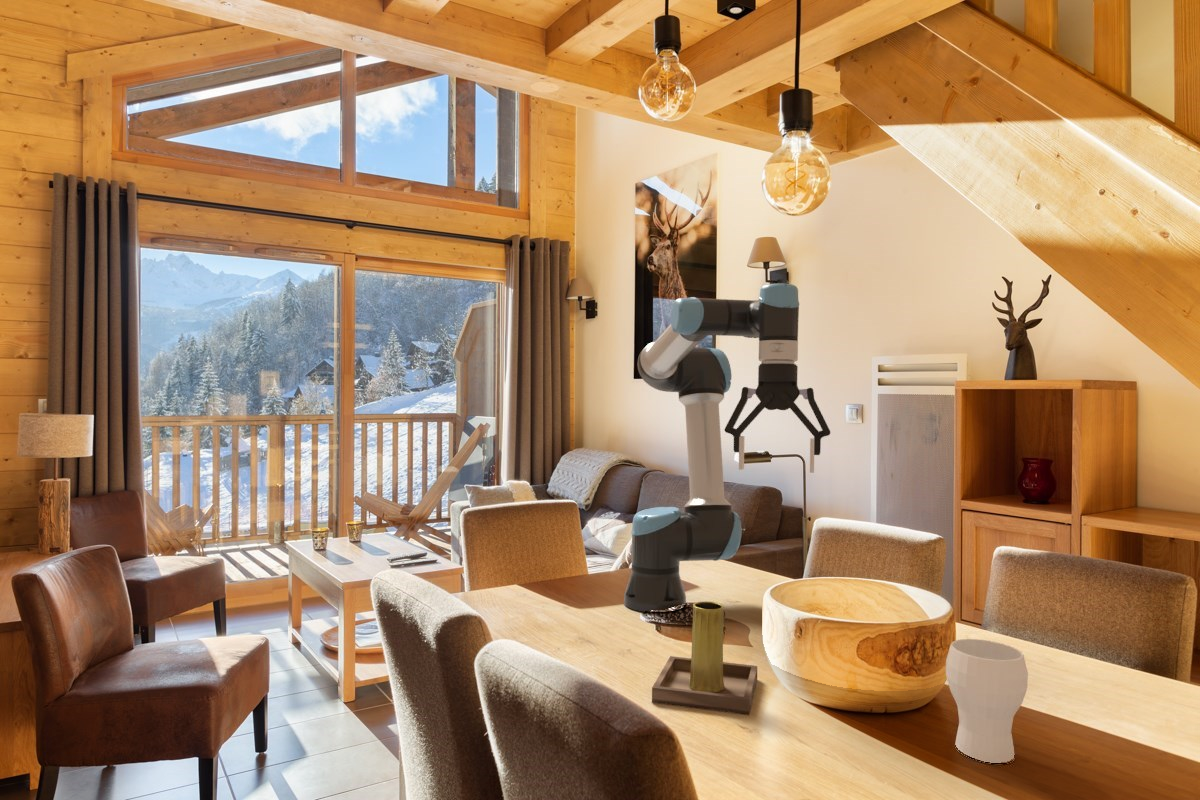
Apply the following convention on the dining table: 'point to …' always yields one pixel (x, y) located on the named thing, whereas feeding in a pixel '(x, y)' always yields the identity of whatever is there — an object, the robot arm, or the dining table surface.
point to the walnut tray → (731, 699)
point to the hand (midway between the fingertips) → (776, 470)
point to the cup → (986, 696)
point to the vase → (707, 648)
